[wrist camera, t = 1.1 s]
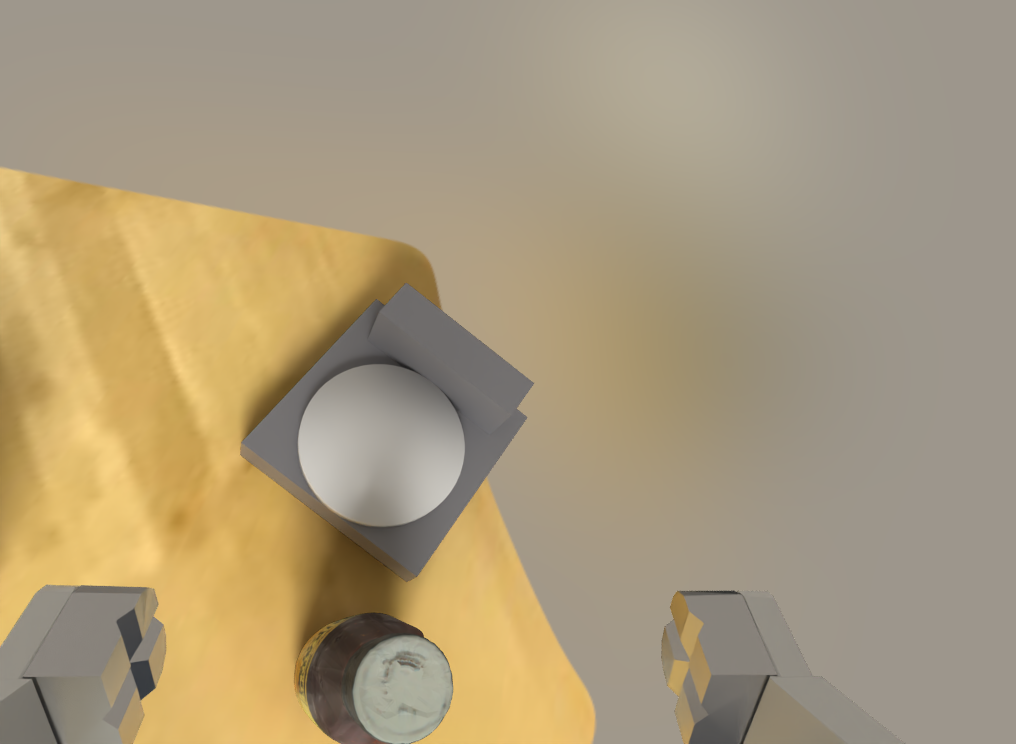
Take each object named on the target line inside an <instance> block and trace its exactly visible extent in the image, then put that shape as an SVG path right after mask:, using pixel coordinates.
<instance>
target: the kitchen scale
mask: <svg viewBox="0 0 1016 744" xmlns="http://www.w3.org/2000/svg"><path fill="white" fill-rule="evenodd" d="M533 384H534V383H533V382H532V381H531V380H529V379H528V378H527V377H525V376H524V375H523V374H522V373H520V372H519V371H518V370H517V369H515V368H514V367H513V366H511V365H510V364H509V363H508V362H506V361H505V360H504V359H503V358H501V357H500V356H499V355H497V354H496V353H495V352H494V351H492V350H491V349H490V348H489V347H487V346H486V345H485V344H484V343H482V342H481V341H480V340H478V339H477V338H476V337H475V336H473V335H472V334H471V333H470V332H468V331H467V330H466V329H464V328H463V327H462V326H461V325H459V324H458V323H457V322H456V321H454V320H453V319H452V318H451V317H449V316H448V315H447V314H445V313H444V312H443V311H442V310H440V309H439V308H438V307H437V306H435V305H434V304H433V303H431V302H430V301H429V300H428V299H426V298H425V297H424V296H423V295H421V294H420V293H419V292H418V291H416V290H415V289H414V288H412V287H411V286H410V285H409V284H407V283H405V284H404V286H403V287H402V288H401V289H400V290H399V291H398V292H397V293H396V294H395V295H394V296H393V297H392V299H391V300H390V301H389V302H388V303H387V304H386V305H384V304H382V303H381V302H380V301H378V300H377V299H376V300H375V301H374V302H373V303H372V304H371V305H370V306H369V307H368V308H367V309H366V310H365V312H364V313H363V314H362V315H361V316H360V317H359V318H358V319H357V320H356V321H355V322H354V323H353V324H352V325H351V326H350V328H349V329H348V330H347V331H346V332H345V333H344V334H343V335H342V336H341V337H340V338H339V339H338V340H337V341H336V342H335V343H334V345H333V346H332V347H331V348H330V349H329V350H328V351H327V352H326V353H325V354H324V355H323V356H322V357H321V358H320V359H319V361H318V362H317V363H316V364H315V365H314V366H313V367H312V368H311V369H310V370H309V371H308V372H307V373H306V374H305V375H304V376H303V378H302V379H301V380H300V381H299V382H298V383H297V384H296V385H295V386H294V387H293V388H292V389H291V390H290V391H289V392H288V393H287V395H286V396H285V397H284V398H283V399H282V400H281V401H280V402H279V403H278V404H277V405H276V406H275V407H274V408H273V409H272V411H271V412H270V413H269V414H268V415H267V416H266V417H265V418H264V419H263V420H262V421H261V422H260V423H259V424H258V425H257V426H256V428H255V429H254V430H253V431H252V432H251V433H250V434H249V435H248V436H247V437H246V438H245V439H244V440H243V441H242V442H241V454H240V455H241V456H242V457H243V458H245V459H246V460H247V461H249V462H250V463H251V464H253V465H254V466H255V467H257V468H258V469H259V470H261V471H262V472H263V473H264V474H266V475H267V476H268V477H270V478H271V479H272V480H274V481H275V482H276V483H278V484H279V485H280V486H281V487H283V488H284V489H285V490H287V491H288V492H289V493H291V494H292V495H293V496H295V497H296V498H297V499H299V500H300V501H301V502H302V503H304V504H305V505H306V506H308V507H309V508H310V509H312V510H313V511H314V512H316V513H317V514H318V515H320V516H321V517H322V518H323V519H325V520H326V521H327V522H329V523H330V524H331V525H333V526H334V527H335V528H337V529H338V530H339V531H340V532H342V533H343V534H344V535H346V536H347V537H348V538H350V539H351V540H352V541H354V542H355V543H356V544H358V545H359V546H360V547H361V548H363V549H364V550H365V551H367V552H368V553H369V554H371V555H372V556H373V557H375V558H376V559H377V560H379V561H380V562H381V563H382V564H384V565H385V566H386V567H388V568H389V569H390V570H392V571H393V572H394V573H396V574H397V575H398V576H399V577H401V578H402V579H403V580H405V581H406V582H408V581H410V580H412V579H414V578H416V577H417V576H418V575H419V573H420V572H421V570H422V569H423V567H424V566H425V564H426V563H427V562H428V560H429V559H430V557H431V556H432V554H433V553H434V551H435V550H436V549H437V547H438V546H439V544H440V543H441V541H442V540H443V538H444V537H445V536H446V534H447V533H448V531H449V530H450V528H451V527H452V526H453V524H454V523H455V521H456V520H457V518H458V517H459V515H460V514H461V513H462V511H463V510H464V508H465V507H466V505H467V504H468V502H469V501H470V500H471V498H472V497H473V495H474V494H475V492H476V491H477V489H478V488H479V487H480V485H481V484H482V482H483V481H484V479H485V478H486V476H487V475H488V474H489V472H490V471H491V469H492V468H493V466H494V465H495V464H496V462H497V461H498V459H499V458H500V456H501V455H502V453H503V452H504V451H505V449H506V448H507V446H508V445H509V443H510V442H511V440H512V439H513V438H514V436H515V435H516V433H517V432H518V430H519V429H520V427H521V426H522V425H523V423H524V422H525V420H526V419H527V417H526V416H525V415H524V414H522V413H521V412H520V411H519V410H517V409H516V408H517V407H518V405H519V404H520V403H521V401H522V400H523V398H524V397H525V395H526V394H527V393H528V391H529V390H530V388H531V387H532V386H533Z"/></svg>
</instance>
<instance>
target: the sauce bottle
mask: <svg viewBox="0 0 1016 744" xmlns="http://www.w3.org/2000/svg"><path fill="white" fill-rule="evenodd" d="M294 685H295V692H296V696H297V699H298V702H299V703H300V705H301V707H302V708H303V710H304V711H305V713H306V714H307V715H308V716H309V718H310V719H311V720H312V721H313V722H314V723H315V724H316V725H317V726H318V727H319V728H320V729H321V730H322V731H323V732H324V733H325V734H326V735H327V736H329V737H330V738H332V739H333V740H335V741H337V742H339V743H341V744H411V743H413V742H416V741H419V740H421V739H423V738H425V737H426V736H428V735H429V734H430V733H432V732H433V731H434V730H435V729H436V728H437V727H438V725H439V724H440V723H441V721H442V720H443V718H444V716H445V714H446V713H447V711H448V709H449V707H450V703H451V700H452V695H453V681H452V673H451V670H450V666H449V663H448V661H447V659H446V657H445V655H444V653H443V652H442V651H441V650H440V649H439V648H438V647H437V646H436V645H435V644H434V643H432V642H430V641H429V640H428V639H426V638H424V635H423V633H422V632H421V631H420V630H419V629H417V628H415V627H413V626H411V625H409V624H406V623H404V622H402V621H400V620H398V619H396V618H394V617H392V616H389V615H386V614H381V613H365V614H360V615H355V616H352V617H348V618H345V619H342V620H338V621H335V622H333V623H330V624H328V625H326V626H325V627H323V628H321V629H320V630H319V631H317V632H316V633H315V634H314V635H313V636H312V637H311V638H310V639H309V640H308V641H307V643H306V644H305V646H304V647H303V648H302V650H301V652H300V655H299V657H298V659H297V662H296V667H295V673H294Z"/></svg>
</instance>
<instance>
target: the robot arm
mask: <svg viewBox="0 0 1016 744" xmlns="http://www.w3.org/2000/svg"><path fill="white" fill-rule="evenodd" d="M157 607H158V601H157V597H156V594H155V591H154V589H152V588H146V587H115V586H85V585H81V586H70V585H46V586H44V587H43V588H42V589H40V590H39V591H38V592H36V593H35V595H34V596H33V598H32V599H31V601H30V602H29V604H28V605H27V607H26V608H25V610H24V612H23V613H22V615H21V616H20V618H19V619H18V621H17V622H16V624H15V625H14V627H13V628H12V630H11V631H10V633H9V634H8V636H7V637H6V639H5V641H4V642H3V644H2V645H1V647H0V744H133V742H134V740H135V737H136V735H137V732H138V730H139V728H140V725H141V723H142V720H143V718H144V712H143V708H142V704H141V700H142V699H143V698H144V697H145V696H147V695H148V694H149V693H150V692H151V691H153V690H154V689H155V688H156V686H157V683H158V680H159V678H160V675H161V673H162V670H163V664H164V659H165V654H166V634H165V629H164V625H163V624H162V623H161V622H160V621H158V620H157V619H156V618H155V617H153V616H154V613H155V611H156V609H157ZM670 609H671V612H672V615H673V618H674V619H673V620H672V621H671V622H670V623H668V624H667V625H666V626H665V628H664V633H663V638H662V656H661V658H662V664H663V671H664V675H665V679H666V683H667V686H668V687H669V688H670V689H671V690H672V691H673V692H674V693H675V694H676V695H677V696H678V697H679V698H678V702H677V705H676V708H675V714H676V718H677V722H678V725H679V728H680V732H681V735H682V739H683V742H684V744H905V743H904V742H902V741H901V740H900V739H899V738H897V737H896V736H895V735H894V734H893V733H891V732H890V731H889V730H887V729H886V728H885V727H884V726H883V725H881V724H880V723H879V722H878V721H877V720H875V719H874V718H873V717H871V716H870V715H869V714H868V713H867V712H865V711H864V710H863V709H861V708H860V707H859V706H858V705H857V704H855V703H854V702H853V701H852V700H850V699H849V698H848V697H847V696H845V695H844V694H843V693H842V692H840V691H839V690H838V689H837V688H836V687H834V686H833V685H832V684H831V683H829V682H828V681H827V680H826V679H824V678H823V677H820V676H812V674H811V671H810V669H809V668H808V666H807V663H806V661H805V660H804V657H803V655H802V653H801V651H800V649H799V647H798V645H797V643H796V641H795V639H794V637H793V635H792V633H791V631H790V629H789V627H788V625H787V623H786V621H785V619H784V617H783V615H782V613H781V611H780V609H779V607H778V605H777V603H776V601H775V599H774V596H773V595H772V594H770V593H769V592H768V591H737V592H736V591H677V592H676V594H675V595H674V596H673V599H672V603H671V606H670Z"/></svg>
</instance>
